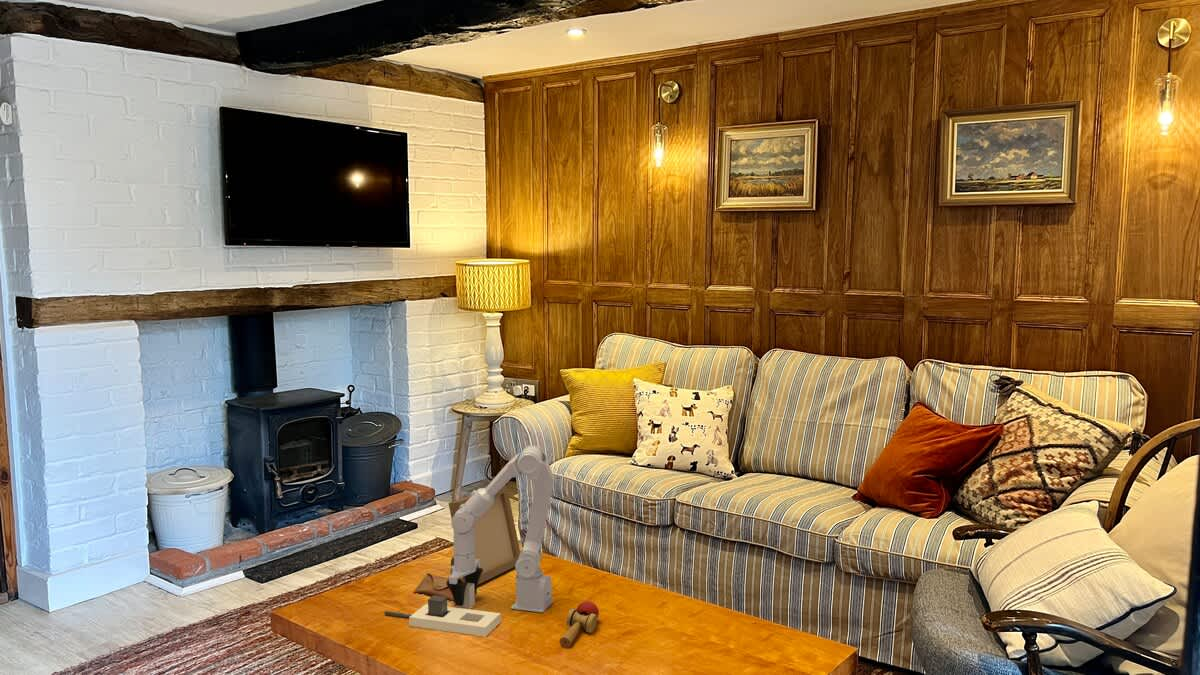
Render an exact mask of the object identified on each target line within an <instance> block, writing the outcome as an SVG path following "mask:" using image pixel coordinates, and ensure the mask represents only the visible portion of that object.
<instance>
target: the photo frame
mask: <svg viewBox="0 0 1200 675" xmlns="http://www.w3.org/2000/svg"><path fill="white" fill-rule="evenodd" d="M471 496H472V495H471V494H469V495H467V496H465V497H462V498H459V499H457V500H454V501H451V502H448V508H449V513H450V518H451V520H452V518H453V516H454V515H455V513H456V512H457V511H458V510H459V509H460V506H461V505H462V504H465V503H466V502H467V501H468V499H469V498H470V497H471ZM473 526H474V539H475V559H480V566H479V567H478V568H482V569H483V572H482V574H481V576H480V579H479V582H478V585H481V584H483V583H484V582H486V581H488V580H490V579H493V578H494V577H497V576H499V575H500V574H503V573H504V572H507V571H509V570H511V569H513V568H515V565H516V562H517V560H518V558H519V554H520V551H521V549H520V548H521V547H520V544H519V540H518V539H519V538H518V535H517V529H516V524H515V519H514V514H513V509H512V505H511V500H510V495H509V490H508V486H507V484H505V485H504V486H503V487H502V488H501V489H500V490H499V491H498V492H497V493H496V494H495V495H494V503H493V504H492V505H491V506H490V507H489V509H488V510H487V511H486V512H485V513H484V514H483V515H482V516H481V517H480V518H479V519H478V520H476V521H475V523H474V524H473ZM453 565H454V556H452V558H451V559H450V568H451V567H452V566H453ZM452 571H453V570H451V569H450V574H452ZM462 578H463V582H466V580H465V576H463V577H462Z"/></svg>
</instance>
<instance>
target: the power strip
mask: <svg viewBox="0 0 1200 675" xmlns="http://www.w3.org/2000/svg"><path fill="white" fill-rule="evenodd" d="M384 615H385V616H389V617H399V618H406V619H408V620H409V623H408V624H409V627H412V626H413V627H412V628H419V627H420V629H427V630H433V629H434V630H435V631H440V630H441V631H440V632H449V633H456V634H464V635H469V634H470V635H469V636H477V637H484V638H486V637H487V636H488V635H489V634H490V633H491V632H493V630H494V629H496V628H497V627H498V626H499V625H498V624H501V622H502V621H501V612H500V613H499V612H493V611H486V610H484V611H483V610H478V609H471V608H463V607H453V606H448V600H447V597H443V596H435V595H433V596H432V597H431V596H430V598H428V599H427V603H425V604H424V605H422V607H420V608H419V609H417V610H416V611H415V612H413V613H412V614H410V613H402V612H396V611H390V610H389V611H388V610H385V611H384ZM497 625H498V626H497ZM496 626H497V627H496Z"/></svg>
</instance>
